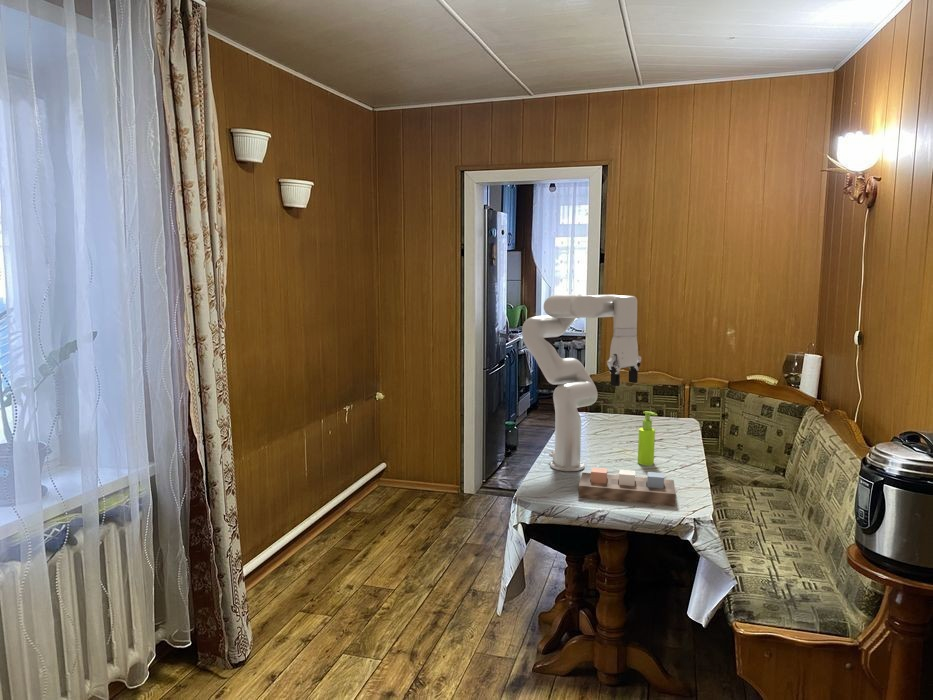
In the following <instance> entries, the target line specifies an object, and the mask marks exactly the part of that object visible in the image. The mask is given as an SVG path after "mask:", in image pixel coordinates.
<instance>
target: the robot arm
mask: <svg viewBox="0 0 933 700" xmlns="http://www.w3.org/2000/svg"><path fill="white" fill-rule="evenodd" d="M543 311H544V313H545V314H546V315H537V316H531V317H528V318H527V319H525V321H524V322H523V324H522V328H521V336H522V340H523V343H524V345H525V346H526V348H527V350H528V351H529V352H530V354H531V355H532V357H533V358H534V360H535V361H536V364H537V366H538V367H539V369H540V370H541V373H542V375H543V376H544V378H545V379H546V381H547V382H548V383H549V384H551V385H555V386H556V385H557V387H555V389H554V390H553V394H552V399H553V400H552V401H553V407H554V412H555V413H554V415H555V417H554V420H555V424H554V429H555V431H554V449H553V450H551V451H550V452H549V453H548V456H549V457H550V458H552V460H551V461H550V465H549V466H550V468H552V469H553V470H557V471H562V472H579V471H582V470H583V469H584V468H585V463H584V462H582V461H581V449H582V448H581V447H582V443H581V442H582V418H581V415H580V413H579V411H578V408H583V407H588V406H592V405H594V404H595V403H596V401H597V400H598V395H599V394H598V390H597V386H596V385H595V383H594V381H593V379H592V378H591V376H590V375H589V373H588V371H587V370H586V368H585V366H584V365H583V364H582V362H581V361H580V360H579V359H577V358H574V357H566V358H563V357H561V356H560V355H559V353H558V351H557V349H556V348H555V347H554V346H553V345H552V344H551V342H549V341H547V340H546V338H558V337H560V336H562V335H563V334H565V333H566V332H567V330H568V329H569V328H570V326H571V325H572V324H573V322H574V321H575V319H580V318H582V319H584V318H587V319H588V318H590V319H591V318H592V319H596V318H597V319H598V318H610V317H611V318H612V317H613V337H612V338H611V342H610V347H609V348H610V349H609V358H608V360H606V365H607V369H608V371H609V374H610V386H613V387H619V386H620V382H621V380H620V378H621V375H620V371H621V369H624V368H625V369H626V368H629V370H628V383H632V384H634V383H635V384H637V383H638V380H639V379H638V374H639V370H640V368H639V367H640V366H641V362H642V356H641V355H639V344H638V336H637V335H638V334H637V333H638V331H637V330H638V299H637V297H636V296H634V295H618V294H595V295H593V294H592V295H591V294H590V295H582V294H579V293H578V294H577V293H576V294H553V295H551V296H548V297H547V298H546V299H545V300H544V303H543Z"/></svg>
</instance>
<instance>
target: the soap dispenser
mask: <svg viewBox="0 0 933 700" xmlns="http://www.w3.org/2000/svg"><path fill="white" fill-rule="evenodd" d="M642 413H643V414H645V415H644V419H642V427H639V428H638V444H637V445H638V447H637V463H638V464H640V465H642V466H653V465H654V464H655V463H654V462H655V438H656V429H655V428H653V424H652V423H653V420H652V419H651V416H652V417H654V416H658V413H656V412H653V411H647V410H645V411H643V412H642Z"/></svg>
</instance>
